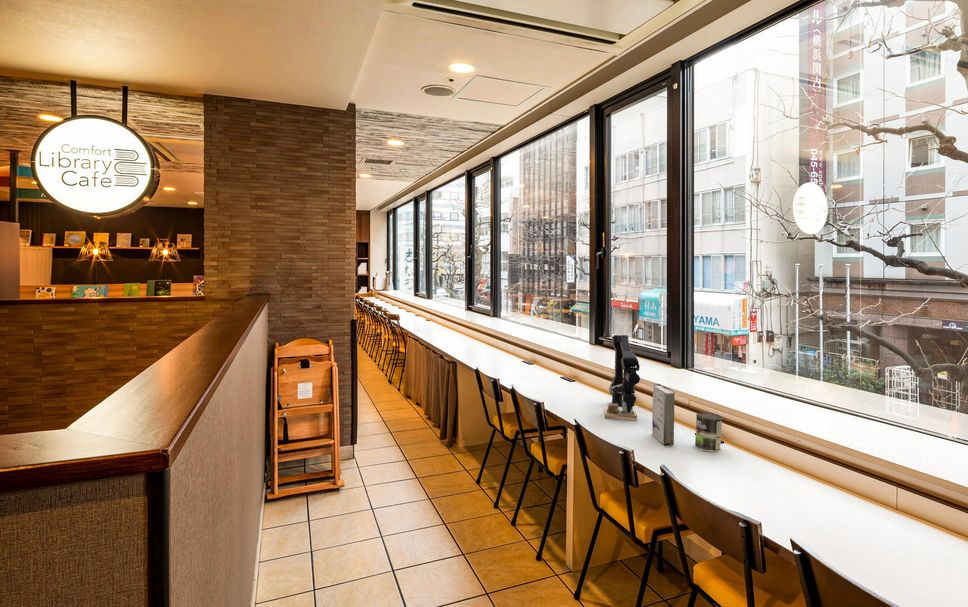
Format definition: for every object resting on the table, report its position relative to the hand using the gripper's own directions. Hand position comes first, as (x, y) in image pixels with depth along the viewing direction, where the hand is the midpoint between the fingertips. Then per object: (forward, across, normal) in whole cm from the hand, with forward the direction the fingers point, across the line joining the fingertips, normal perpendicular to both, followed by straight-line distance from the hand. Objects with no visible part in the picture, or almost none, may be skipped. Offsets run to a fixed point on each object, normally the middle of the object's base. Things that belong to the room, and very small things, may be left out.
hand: (627, 410), depth 263 cm
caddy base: (+4, 0, -4) cm, 5 cm away
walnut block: (+3, 0, -7) cm, 8 cm away
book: (+4, +33, +13) cm, 35 cm away
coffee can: (+4, +39, +31) cm, 50 cm away
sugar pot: (+3, 0, 0) cm, 3 cm away
